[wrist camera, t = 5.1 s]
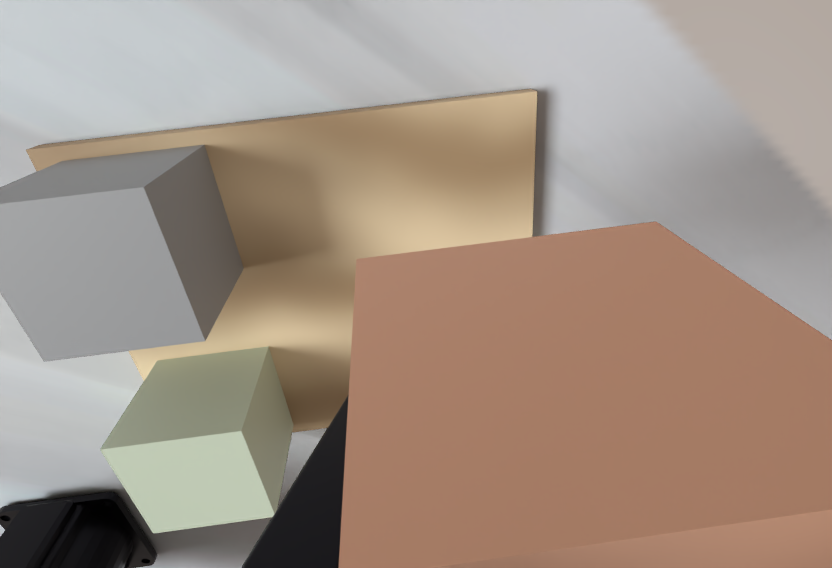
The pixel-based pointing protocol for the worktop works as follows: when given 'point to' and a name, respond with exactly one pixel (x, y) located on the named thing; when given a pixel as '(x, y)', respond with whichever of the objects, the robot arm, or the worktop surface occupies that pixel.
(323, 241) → the oak board
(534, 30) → the worktop surface
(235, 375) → the sage block
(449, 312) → the terracotta block
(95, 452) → the worktop surface
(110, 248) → the grey block
